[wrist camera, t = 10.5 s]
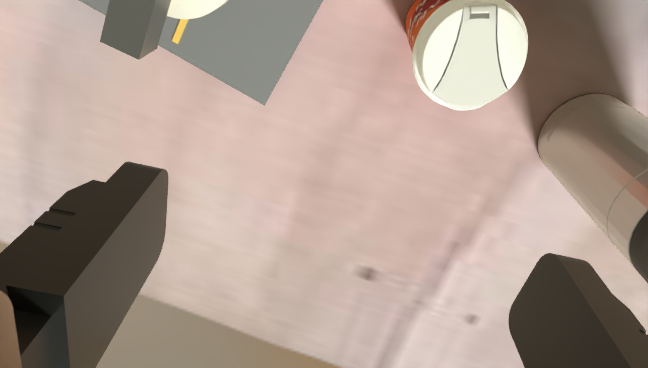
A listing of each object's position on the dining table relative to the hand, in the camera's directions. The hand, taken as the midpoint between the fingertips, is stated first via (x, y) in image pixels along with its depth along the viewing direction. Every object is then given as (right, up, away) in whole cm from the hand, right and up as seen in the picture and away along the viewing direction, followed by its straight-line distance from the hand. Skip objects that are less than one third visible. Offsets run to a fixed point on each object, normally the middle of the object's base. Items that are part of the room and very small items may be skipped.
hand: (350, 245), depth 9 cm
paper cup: (+10, +16, +32) cm, 37 cm away
